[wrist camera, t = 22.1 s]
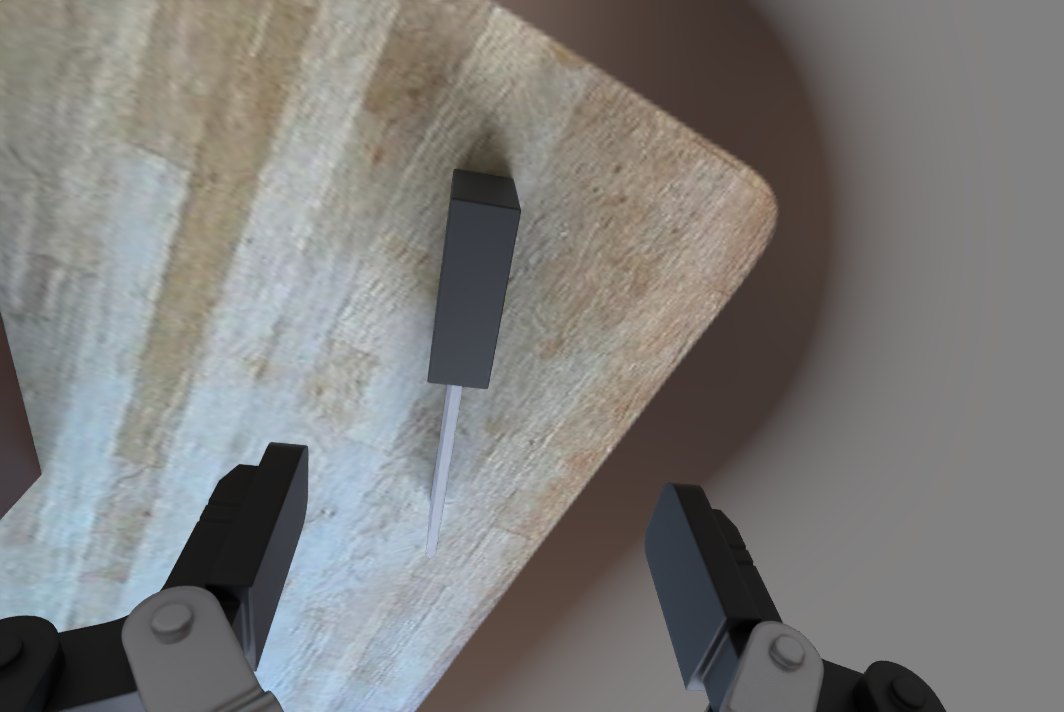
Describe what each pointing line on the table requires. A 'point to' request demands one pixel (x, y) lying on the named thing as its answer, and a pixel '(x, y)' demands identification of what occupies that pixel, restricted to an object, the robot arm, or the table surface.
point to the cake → (13, 435)
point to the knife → (469, 305)
